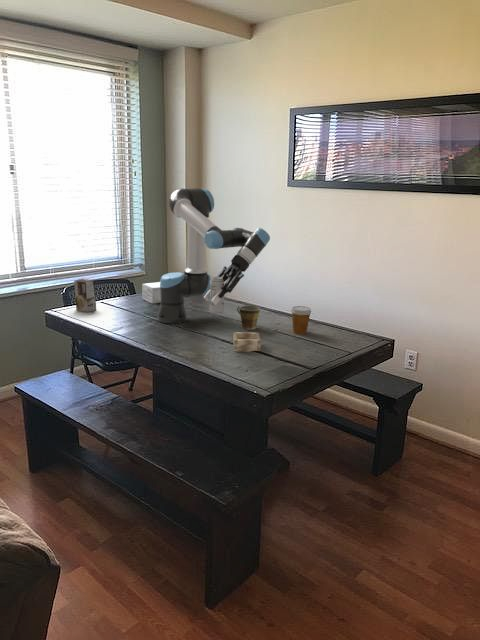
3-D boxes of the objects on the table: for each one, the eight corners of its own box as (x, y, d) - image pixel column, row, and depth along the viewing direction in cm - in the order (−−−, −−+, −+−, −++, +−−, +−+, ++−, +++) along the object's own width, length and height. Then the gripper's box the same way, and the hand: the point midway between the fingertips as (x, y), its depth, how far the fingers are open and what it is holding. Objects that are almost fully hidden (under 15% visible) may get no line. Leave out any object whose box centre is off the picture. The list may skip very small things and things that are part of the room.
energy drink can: (225, 313, 223) (225, 279, 219) (211, 314, 221) (211, 279, 217) (222, 310, 229) (222, 276, 224) (208, 311, 227) (208, 276, 223)
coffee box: (96, 310, 282) (95, 280, 277) (87, 312, 277) (85, 282, 272) (85, 307, 287) (83, 278, 282) (75, 309, 281) (73, 280, 277)
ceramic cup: (263, 328, 258) (264, 308, 255) (249, 332, 251) (250, 311, 248) (243, 322, 266) (244, 303, 264) (230, 326, 259) (230, 306, 257)
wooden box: (234, 351, 224) (234, 340, 223) (233, 343, 235) (233, 332, 233) (260, 351, 225) (260, 340, 223) (257, 343, 235) (258, 332, 234)
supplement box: (152, 304, 298) (152, 287, 295) (142, 299, 308) (141, 283, 305) (178, 300, 307) (178, 284, 305) (167, 295, 318) (167, 280, 315)
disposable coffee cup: (311, 331, 255) (313, 307, 252) (307, 336, 247) (309, 311, 243) (292, 328, 258) (293, 304, 255) (287, 334, 249) (289, 309, 246)
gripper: (260, 268, 220) (226, 311, 216) (236, 261, 235) (204, 301, 231) (250, 257, 216) (215, 300, 212) (226, 250, 231) (193, 291, 227)
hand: (209, 301), depth 222 cm, fingers closed on energy drink can, 6 cm apart
